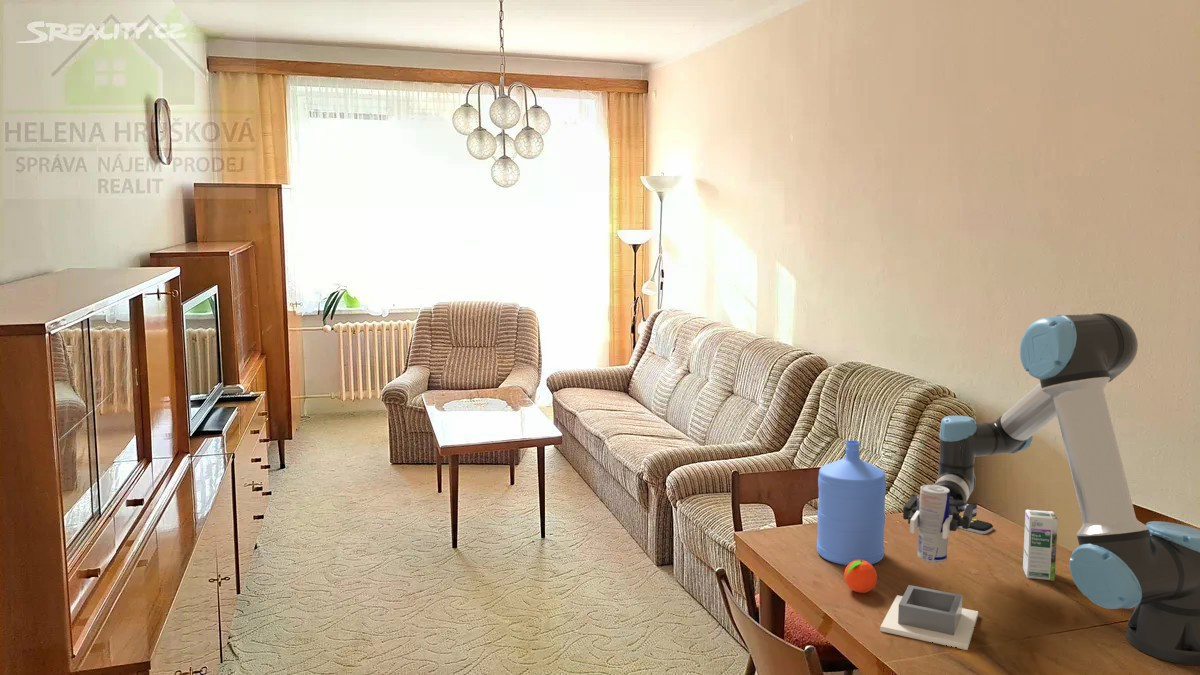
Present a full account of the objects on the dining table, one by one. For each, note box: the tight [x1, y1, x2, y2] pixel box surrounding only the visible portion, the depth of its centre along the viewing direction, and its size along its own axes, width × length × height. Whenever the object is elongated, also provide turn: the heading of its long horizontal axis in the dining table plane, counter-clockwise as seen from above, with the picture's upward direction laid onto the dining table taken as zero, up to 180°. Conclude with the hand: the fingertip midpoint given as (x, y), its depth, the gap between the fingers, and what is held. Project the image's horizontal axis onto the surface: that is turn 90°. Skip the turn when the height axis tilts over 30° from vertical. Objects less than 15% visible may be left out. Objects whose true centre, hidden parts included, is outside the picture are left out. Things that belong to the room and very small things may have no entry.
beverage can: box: [916, 484, 950, 564], centre depth 174 cm, size 6×6×15 cm
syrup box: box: [1022, 509, 1059, 582], centre depth 194 cm, size 6×6×14 cm
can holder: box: [879, 584, 979, 651], centre depth 173 cm, size 16×16×5 cm
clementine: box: [843, 560, 878, 594], centre depth 187 cm, size 8×7×7 cm
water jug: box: [816, 440, 887, 566], centre depth 207 cm, size 16×16×28 cm
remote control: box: [958, 514, 994, 535], centre depth 227 cm, size 6×13×2 cm, turn 42°
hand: (928, 529), depth 170 cm, fingers closed on beverage can, 5 cm apart
